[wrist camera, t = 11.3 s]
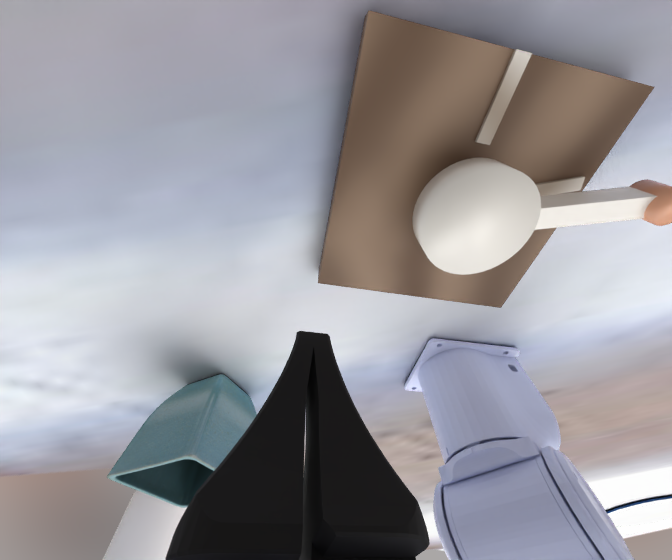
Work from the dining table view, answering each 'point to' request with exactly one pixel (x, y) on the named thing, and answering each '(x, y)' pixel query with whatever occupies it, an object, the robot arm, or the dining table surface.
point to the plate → (644, 527)
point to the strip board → (456, 148)
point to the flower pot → (185, 440)
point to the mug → (145, 529)
